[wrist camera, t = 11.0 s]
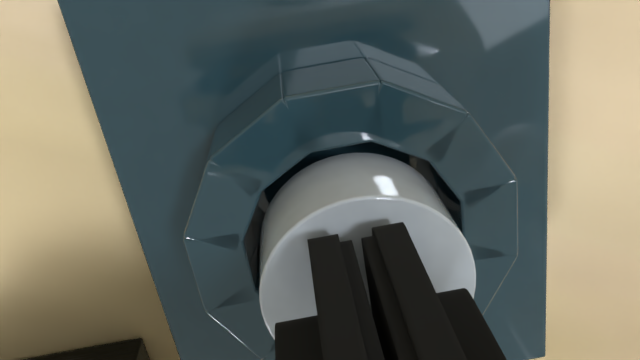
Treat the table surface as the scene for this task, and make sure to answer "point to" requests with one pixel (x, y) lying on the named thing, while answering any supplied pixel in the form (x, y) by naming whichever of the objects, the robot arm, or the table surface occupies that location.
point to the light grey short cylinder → (353, 228)
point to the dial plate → (103, 352)
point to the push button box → (319, 137)
